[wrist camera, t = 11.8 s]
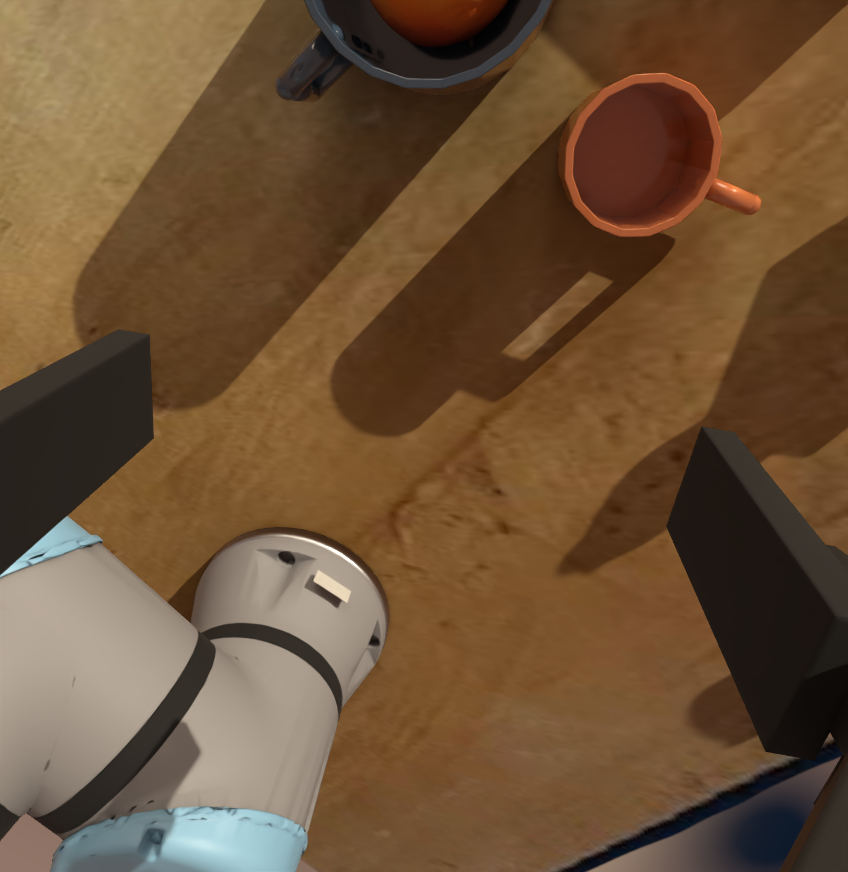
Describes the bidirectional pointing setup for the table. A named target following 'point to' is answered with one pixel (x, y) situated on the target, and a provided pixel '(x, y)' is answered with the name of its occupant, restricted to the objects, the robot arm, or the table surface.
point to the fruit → (438, 19)
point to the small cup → (645, 156)
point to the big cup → (405, 51)
